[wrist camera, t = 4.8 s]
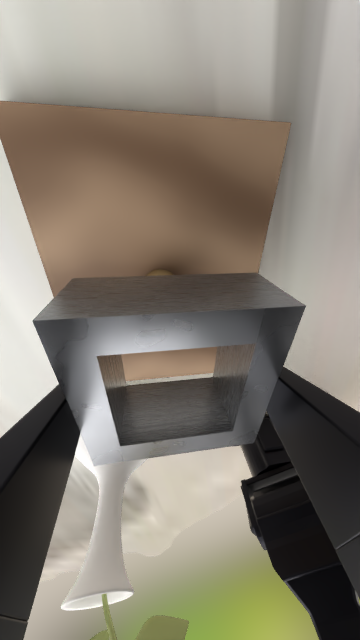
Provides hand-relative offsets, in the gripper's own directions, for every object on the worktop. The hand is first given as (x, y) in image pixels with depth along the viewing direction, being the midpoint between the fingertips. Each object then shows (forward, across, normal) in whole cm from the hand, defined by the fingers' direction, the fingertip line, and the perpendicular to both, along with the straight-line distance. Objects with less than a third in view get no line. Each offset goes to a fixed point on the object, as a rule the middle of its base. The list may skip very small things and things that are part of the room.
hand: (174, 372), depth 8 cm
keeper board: (+11, 0, 0) cm, 11 cm away
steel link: (+2, 0, 0) cm, 2 cm away
